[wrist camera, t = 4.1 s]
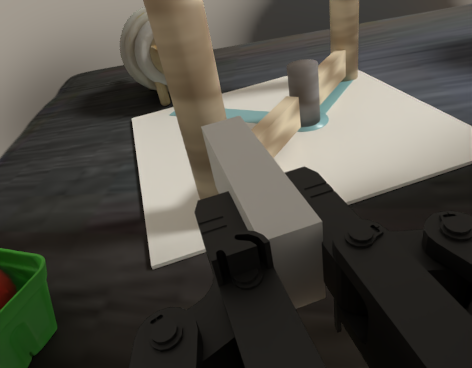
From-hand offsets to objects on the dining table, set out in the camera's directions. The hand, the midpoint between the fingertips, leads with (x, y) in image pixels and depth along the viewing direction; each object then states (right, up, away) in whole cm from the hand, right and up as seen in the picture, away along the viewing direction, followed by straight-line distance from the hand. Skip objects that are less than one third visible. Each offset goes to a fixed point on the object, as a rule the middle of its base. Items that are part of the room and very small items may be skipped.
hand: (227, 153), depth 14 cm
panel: (+2, 0, +17) cm, 17 cm away
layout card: (+4, +4, +23) cm, 24 cm away
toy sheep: (-8, +12, +38) cm, 40 cm away
